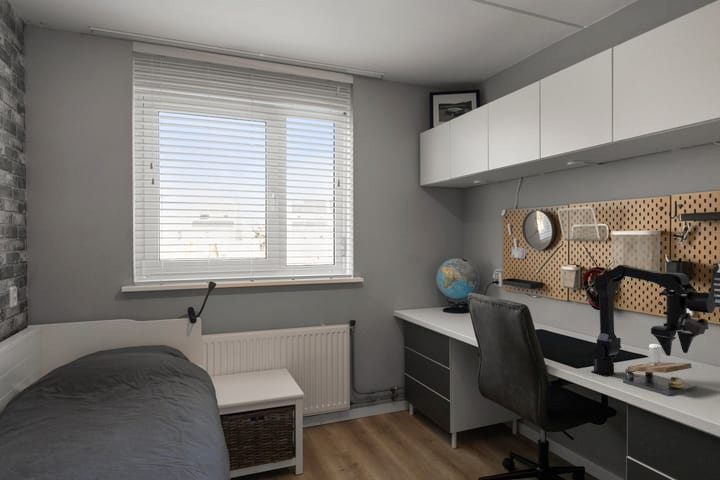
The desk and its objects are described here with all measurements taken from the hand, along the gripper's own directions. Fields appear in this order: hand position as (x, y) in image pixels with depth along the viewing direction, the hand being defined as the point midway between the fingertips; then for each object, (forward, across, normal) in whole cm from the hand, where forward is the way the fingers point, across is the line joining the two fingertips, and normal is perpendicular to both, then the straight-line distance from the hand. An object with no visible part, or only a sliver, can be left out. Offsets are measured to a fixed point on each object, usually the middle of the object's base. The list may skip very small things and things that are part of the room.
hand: (676, 354), depth 150 cm
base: (+13, +2, +7) cm, 15 cm away
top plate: (+8, +2, +8) cm, 11 cm away
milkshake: (+14, +27, +25) cm, 39 cm away
